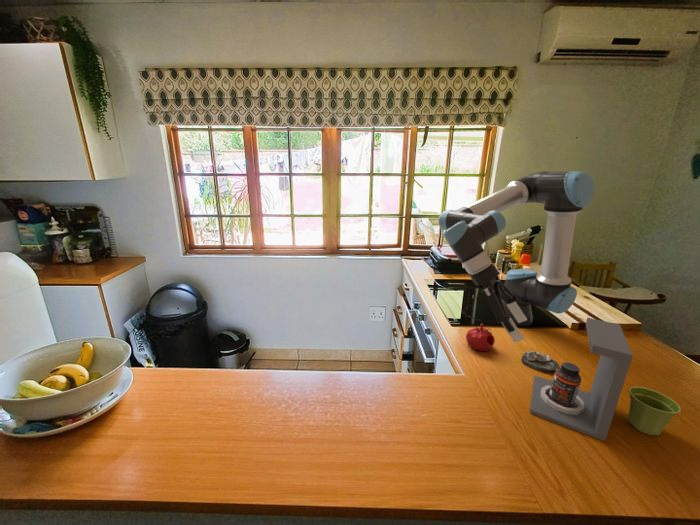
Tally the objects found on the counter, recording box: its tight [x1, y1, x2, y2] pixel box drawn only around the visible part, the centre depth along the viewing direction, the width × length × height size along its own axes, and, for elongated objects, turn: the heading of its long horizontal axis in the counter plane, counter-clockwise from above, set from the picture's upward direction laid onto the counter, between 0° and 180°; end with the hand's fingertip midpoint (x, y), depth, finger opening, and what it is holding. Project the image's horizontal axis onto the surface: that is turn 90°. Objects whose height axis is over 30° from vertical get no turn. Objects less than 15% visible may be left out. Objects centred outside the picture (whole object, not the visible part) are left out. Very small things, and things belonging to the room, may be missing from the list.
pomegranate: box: [465, 323, 496, 352], centre depth 112 cm, size 10×10×9 cm
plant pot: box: [628, 386, 682, 437], centre depth 77 cm, size 9×9×9 cm
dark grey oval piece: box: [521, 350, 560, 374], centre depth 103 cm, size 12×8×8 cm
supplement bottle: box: [549, 361, 582, 407], centre depth 83 cm, size 6×6×11 cm
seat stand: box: [529, 317, 633, 442], centre depth 81 cm, size 18×16×24 cm
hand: (521, 330), depth 88 cm, fingers open, 13 cm apart
